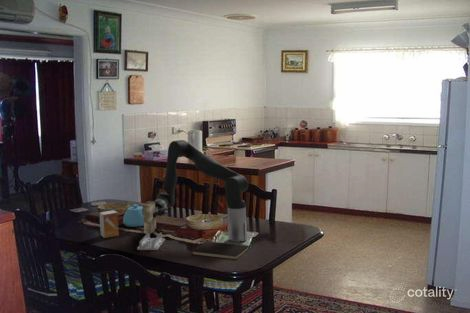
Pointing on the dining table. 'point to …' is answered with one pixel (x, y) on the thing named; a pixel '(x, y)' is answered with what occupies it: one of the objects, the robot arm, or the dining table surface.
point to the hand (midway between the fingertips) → (149, 215)
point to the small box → (109, 224)
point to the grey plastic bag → (150, 242)
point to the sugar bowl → (134, 216)
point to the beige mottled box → (149, 217)
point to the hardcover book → (220, 250)
